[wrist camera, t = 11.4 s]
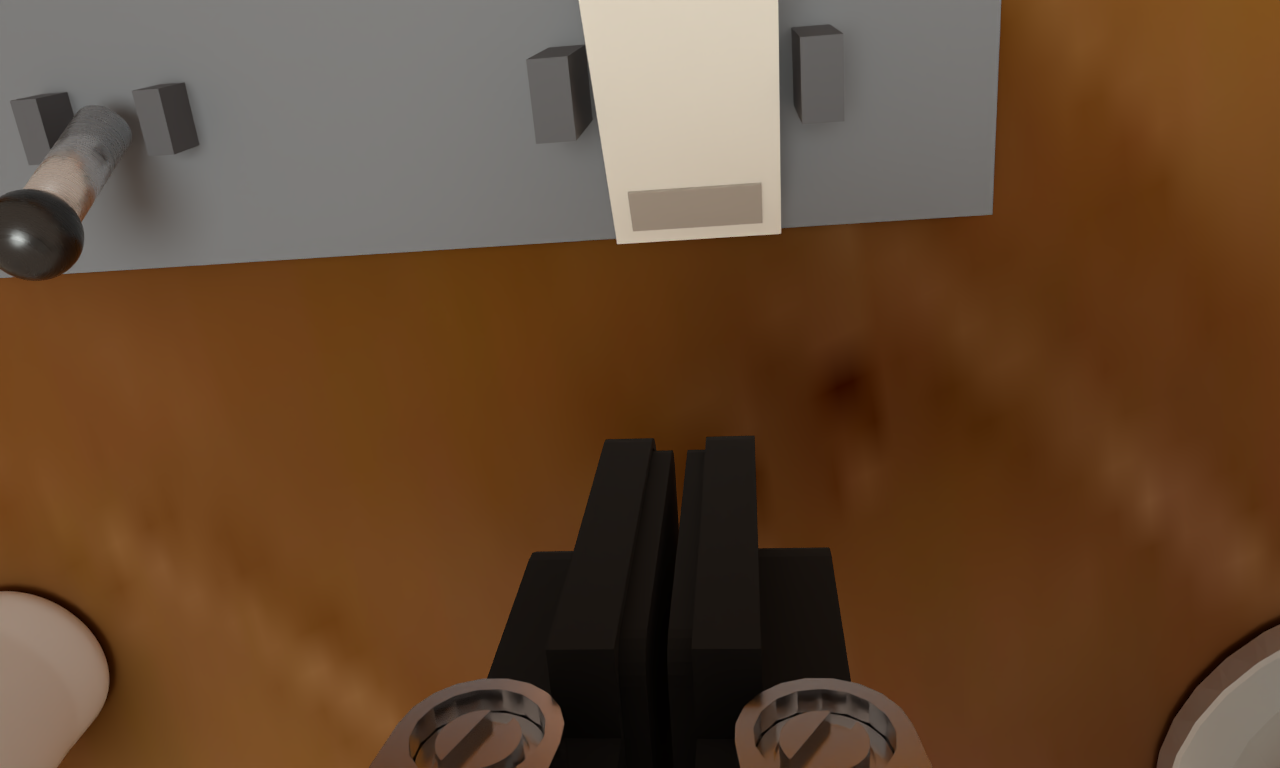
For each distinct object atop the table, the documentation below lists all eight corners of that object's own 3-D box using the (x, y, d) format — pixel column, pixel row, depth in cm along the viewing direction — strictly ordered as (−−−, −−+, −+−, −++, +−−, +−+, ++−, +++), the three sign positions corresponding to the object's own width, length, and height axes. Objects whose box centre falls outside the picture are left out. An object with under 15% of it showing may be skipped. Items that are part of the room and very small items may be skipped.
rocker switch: (773, -115, 19) (777, -87, 18) (778, 205, 24) (781, 236, 23) (571, -95, 19) (566, -68, 18) (619, 216, 24) (616, 246, 23)
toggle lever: (123, 90, 23) (32, 225, 20) (160, 159, 24) (80, 296, 21) (44, 96, 23) (-58, 230, 20) (85, 165, 24) (-5, 302, 21)
